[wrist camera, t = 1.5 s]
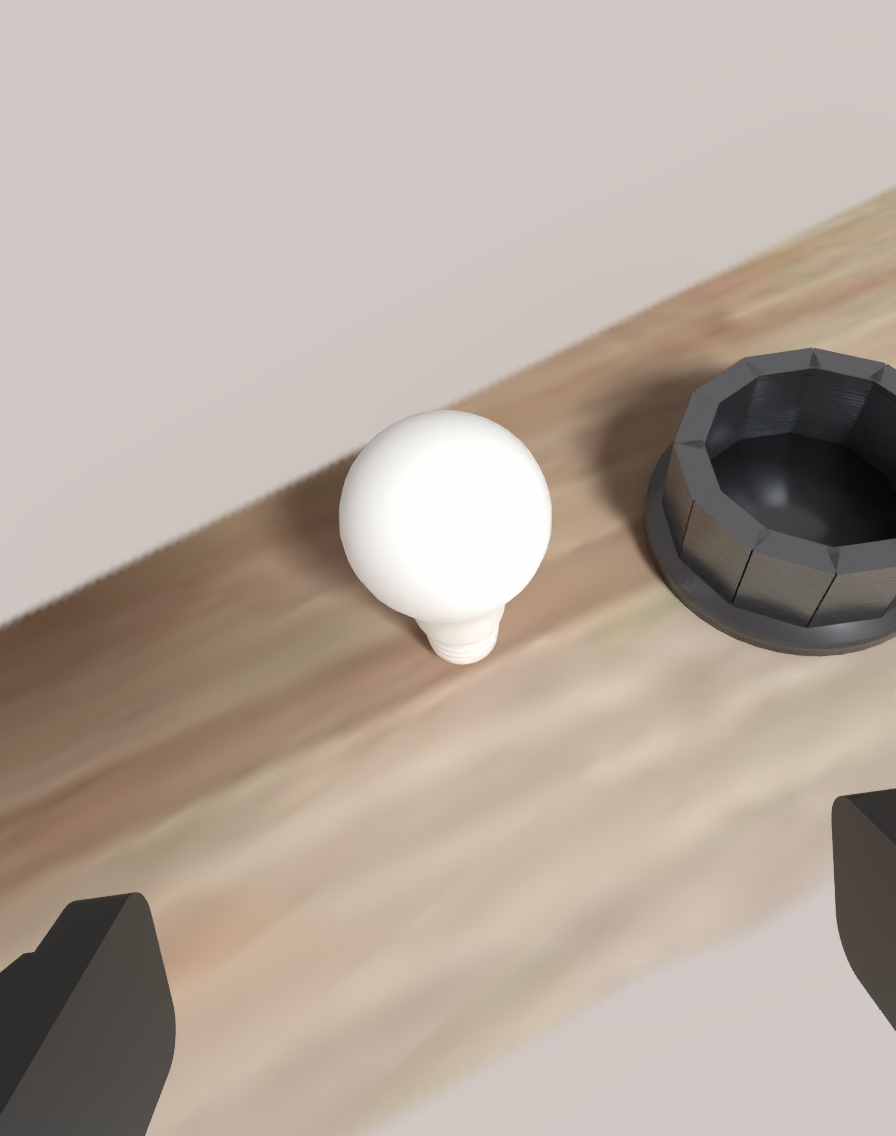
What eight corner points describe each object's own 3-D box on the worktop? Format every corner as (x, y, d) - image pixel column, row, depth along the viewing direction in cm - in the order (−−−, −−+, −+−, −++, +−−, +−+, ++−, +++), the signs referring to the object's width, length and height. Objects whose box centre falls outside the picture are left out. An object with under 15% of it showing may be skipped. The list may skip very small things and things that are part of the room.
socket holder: (878, 402, 36) (919, 318, 32) (999, 632, 30) (1067, 563, 26) (616, 439, 36) (626, 360, 32) (685, 676, 30) (707, 613, 26)
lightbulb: (420, 555, 33) (376, 344, 24) (569, 598, 32) (583, 390, 23) (355, 690, 31) (276, 509, 21) (516, 745, 29) (507, 575, 20)
